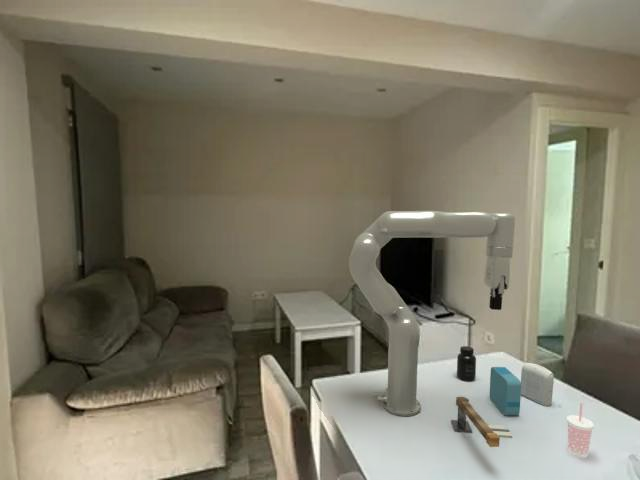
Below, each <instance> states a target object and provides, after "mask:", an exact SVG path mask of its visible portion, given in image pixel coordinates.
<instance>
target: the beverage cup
mask: <svg viewBox="0 0 640 480" xmlns="http://www.w3.org/2000/svg"><path fill="white" fill-rule="evenodd" d="M579 404H580V405H579V415H577V414H576V415H575V414H572V415H571V414H570V415H567V417H566V423H567V451H568V452H569V454H571V455H572V456H574V457H577V458H582V459H583V458H584V459H585V458H587V457H588V456H589V450H590V446H591V445H590V443H591V438H592V433H593V432H592V431H593V429H594V426H595V425H594V423H593V421H591V420H590V419H588V418H585V417H584V416H583V414H582V413H583V403H582V402H581V403H579Z"/></svg>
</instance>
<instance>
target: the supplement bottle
mask: <svg viewBox="0 0 640 480" xmlns="http://www.w3.org/2000/svg"><path fill="white" fill-rule="evenodd" d="M474 351H475V350H474V348H473V347H471V346H466V345H465V346H460V350H459V352H460V353H458V354H457V357H456V358H457V359H456V360H457V361H456V362H457V363H456V365H457V366H456V377H457V378H458V379H459V380H461V381H463V382H474V381H475V380H476V373H477V371H476V370H477V358H476V356H475V355H474Z"/></svg>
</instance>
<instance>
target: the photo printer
mask: <svg viewBox="0 0 640 480" xmlns="http://www.w3.org/2000/svg"><path fill="white" fill-rule="evenodd" d="M554 379H555V375H554V373H553V372H552V371H551V370H550V369H548V368H546V367H544V366H542V365H539V364H538V363H537V364H536V363H533V362H525V363H523V364H522V367H521V377H520V382H521V396H523V397H525V398H527V399H528V400H532V401H534V402H536V403H538V404H540V405H543V406H544V407H551V405H552V402H553V395H554V394H553V391H554Z"/></svg>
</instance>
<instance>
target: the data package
mask: <svg viewBox="0 0 640 480" xmlns="http://www.w3.org/2000/svg"><path fill="white" fill-rule="evenodd" d="M489 381H490V382H489V398H490V401H491V402H492V403H493V404H494V406H496V408H497V409H498V410H499V411H500V412H501V414H502V415H504V416H519V415H520V412H521V411H520V409H521V398H522V397H521V396H522V395H521V379H519V378H518V377H517V376H516V375H515V374H514V373H512V372H511V371H510V370H509V369H508V368H507V367H505V366H492V367H490V377H489Z"/></svg>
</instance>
